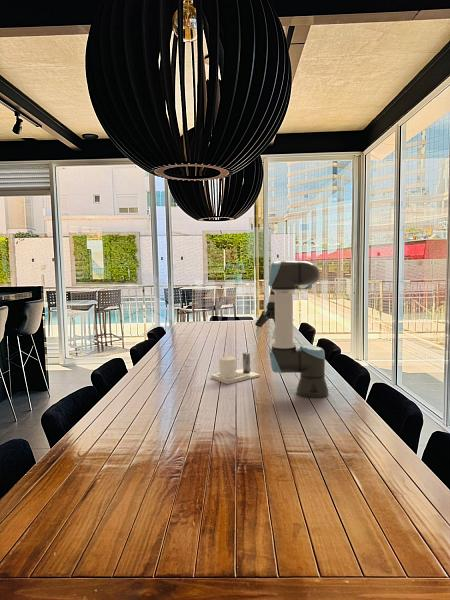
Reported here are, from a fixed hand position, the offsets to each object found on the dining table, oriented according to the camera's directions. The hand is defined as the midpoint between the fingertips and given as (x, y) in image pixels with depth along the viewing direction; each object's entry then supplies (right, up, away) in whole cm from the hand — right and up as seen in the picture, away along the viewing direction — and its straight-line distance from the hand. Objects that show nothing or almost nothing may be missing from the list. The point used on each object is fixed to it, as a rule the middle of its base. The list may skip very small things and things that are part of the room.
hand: (265, 338), depth 247 cm
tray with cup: (-17, -21, -5) cm, 28 cm away
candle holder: (-22, -22, -9) cm, 32 cm away
